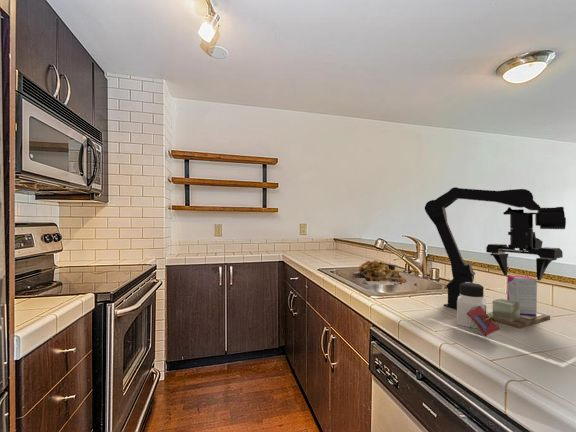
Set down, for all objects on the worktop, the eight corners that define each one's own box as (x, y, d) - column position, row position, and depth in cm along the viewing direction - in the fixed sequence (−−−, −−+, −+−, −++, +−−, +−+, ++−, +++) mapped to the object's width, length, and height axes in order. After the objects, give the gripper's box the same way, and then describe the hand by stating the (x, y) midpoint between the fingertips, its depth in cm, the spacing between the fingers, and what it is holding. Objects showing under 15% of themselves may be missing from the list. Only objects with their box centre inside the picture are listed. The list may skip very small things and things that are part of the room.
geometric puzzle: (504, 334, 79) (498, 303, 80) (498, 341, 74) (492, 308, 75) (473, 331, 84) (468, 302, 85) (466, 338, 79) (461, 307, 80)
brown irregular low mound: (351, 273, 175) (351, 255, 175) (395, 273, 173) (395, 255, 173) (362, 287, 140) (362, 264, 140) (418, 288, 138) (418, 264, 138)
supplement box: (537, 316, 92) (537, 279, 92) (516, 315, 93) (516, 278, 93) (526, 310, 97) (526, 275, 98) (506, 309, 99) (506, 274, 99)
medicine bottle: (486, 330, 84) (486, 287, 84) (456, 325, 87) (456, 284, 87) (485, 322, 90) (485, 282, 90) (458, 318, 93) (458, 280, 94)
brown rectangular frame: (519, 328, 85) (519, 307, 85) (483, 317, 94) (483, 298, 94) (550, 318, 93) (550, 299, 93) (514, 309, 102) (513, 292, 102)
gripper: (570, 229, 91) (571, 280, 91) (503, 227, 107) (503, 271, 107) (553, 229, 86) (553, 284, 85) (485, 228, 102) (485, 273, 102)
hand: (521, 277), depth 95 cm, fingers open, 9 cm apart
